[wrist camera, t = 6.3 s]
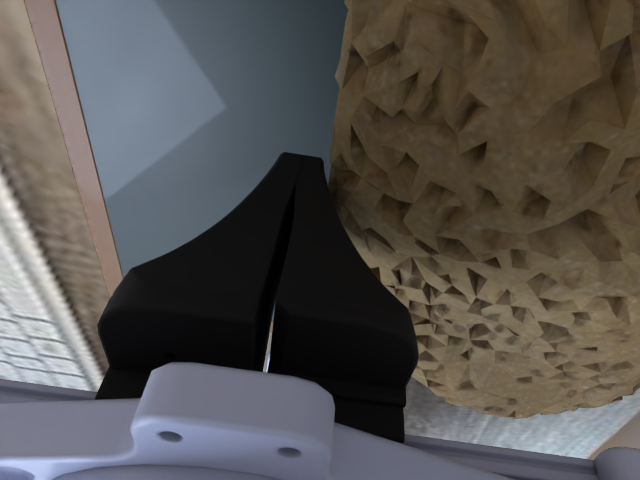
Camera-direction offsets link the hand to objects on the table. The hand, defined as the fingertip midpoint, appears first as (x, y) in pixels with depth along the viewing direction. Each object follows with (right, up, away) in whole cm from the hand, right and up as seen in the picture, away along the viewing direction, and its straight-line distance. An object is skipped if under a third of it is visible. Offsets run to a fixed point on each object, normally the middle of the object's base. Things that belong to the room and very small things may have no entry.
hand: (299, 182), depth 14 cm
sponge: (+7, +1, +3) cm, 8 cm away
